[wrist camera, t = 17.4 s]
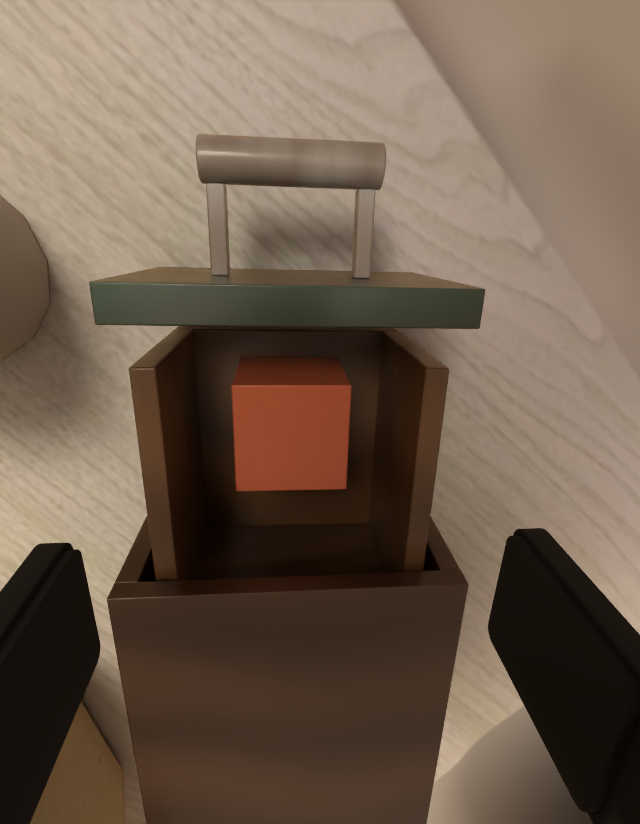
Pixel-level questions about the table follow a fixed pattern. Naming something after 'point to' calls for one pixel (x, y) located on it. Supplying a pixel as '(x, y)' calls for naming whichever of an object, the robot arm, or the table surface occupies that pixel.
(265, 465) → the block
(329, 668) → the cabinet
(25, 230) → the cup
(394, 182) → the table surface
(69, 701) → the robot arm
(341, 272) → the drawer
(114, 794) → the flower pot
